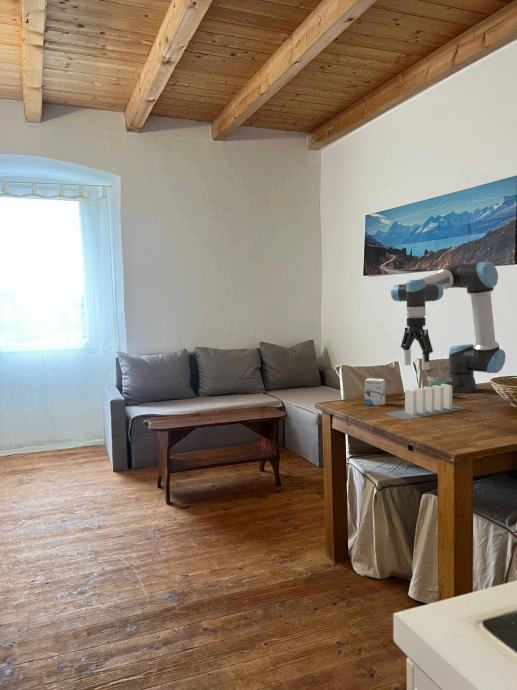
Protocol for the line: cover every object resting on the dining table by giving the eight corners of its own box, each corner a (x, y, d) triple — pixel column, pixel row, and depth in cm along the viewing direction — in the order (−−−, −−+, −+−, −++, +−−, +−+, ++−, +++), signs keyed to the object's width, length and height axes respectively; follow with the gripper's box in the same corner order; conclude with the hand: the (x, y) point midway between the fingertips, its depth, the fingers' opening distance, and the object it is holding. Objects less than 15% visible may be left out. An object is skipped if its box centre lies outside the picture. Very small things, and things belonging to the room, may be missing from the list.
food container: (422, 396, 256) (422, 376, 254) (428, 394, 260) (428, 374, 258) (445, 399, 246) (445, 379, 245) (452, 397, 250) (452, 377, 249)
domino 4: (434, 407, 229) (434, 385, 228) (443, 409, 225) (443, 387, 224) (432, 408, 229) (432, 385, 228) (440, 410, 224) (440, 387, 223)
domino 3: (426, 409, 227) (426, 386, 226) (434, 411, 223) (434, 388, 222) (423, 409, 227) (423, 386, 226) (431, 411, 222) (431, 388, 221)
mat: (444, 404, 237) (444, 403, 236) (465, 410, 226) (465, 408, 226) (384, 414, 222) (384, 413, 222) (403, 420, 211) (403, 419, 211)
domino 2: (417, 410, 225) (417, 387, 224) (425, 412, 221) (425, 389, 220) (414, 411, 225) (414, 388, 223) (422, 413, 220) (422, 390, 219)
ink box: (364, 405, 242) (364, 380, 240) (367, 402, 246) (366, 378, 245) (383, 406, 238) (383, 380, 237) (385, 403, 243) (385, 378, 241)
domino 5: (443, 406, 232) (443, 383, 230) (452, 408, 227) (452, 385, 226) (440, 406, 231) (440, 384, 230) (449, 408, 226) (449, 386, 225)
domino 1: (408, 412, 223) (408, 389, 222) (416, 414, 219) (416, 391, 218) (405, 412, 222) (405, 389, 221) (413, 415, 218) (413, 391, 217)
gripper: (392, 315, 228) (393, 363, 231) (425, 318, 204) (425, 372, 207) (407, 314, 230) (408, 362, 233) (441, 317, 206) (442, 370, 209)
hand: (416, 367), depth 220 cm, fingers open, 13 cm apart
